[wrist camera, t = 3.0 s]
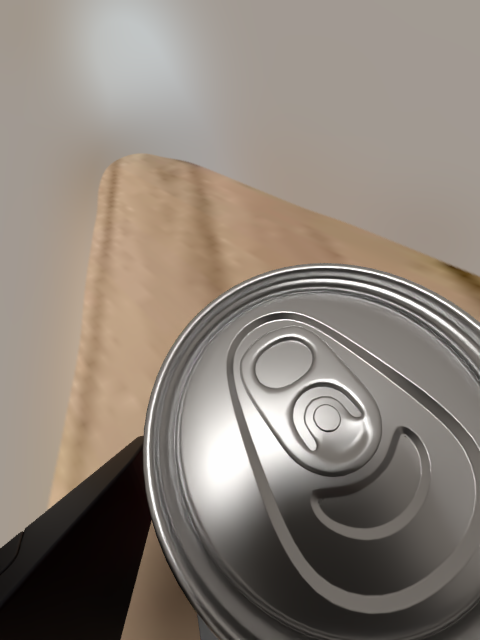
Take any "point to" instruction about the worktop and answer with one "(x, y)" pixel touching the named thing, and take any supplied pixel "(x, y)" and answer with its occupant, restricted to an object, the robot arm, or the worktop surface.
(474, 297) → the worktop surface
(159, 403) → the soda can
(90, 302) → the worktop surface
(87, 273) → the worktop surface
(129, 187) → the worktop surface
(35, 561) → the robot arm
